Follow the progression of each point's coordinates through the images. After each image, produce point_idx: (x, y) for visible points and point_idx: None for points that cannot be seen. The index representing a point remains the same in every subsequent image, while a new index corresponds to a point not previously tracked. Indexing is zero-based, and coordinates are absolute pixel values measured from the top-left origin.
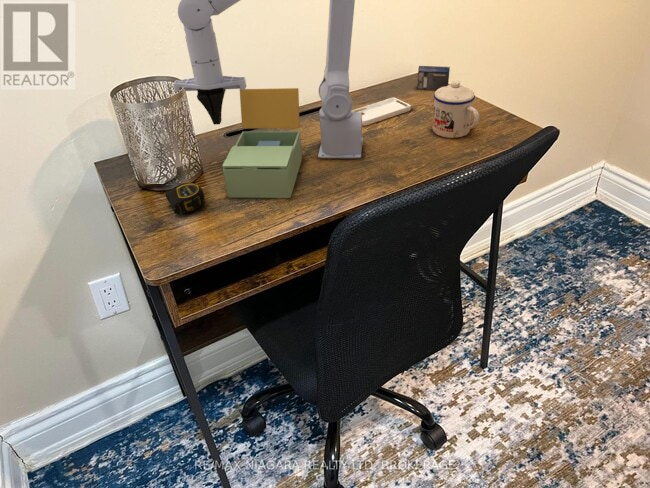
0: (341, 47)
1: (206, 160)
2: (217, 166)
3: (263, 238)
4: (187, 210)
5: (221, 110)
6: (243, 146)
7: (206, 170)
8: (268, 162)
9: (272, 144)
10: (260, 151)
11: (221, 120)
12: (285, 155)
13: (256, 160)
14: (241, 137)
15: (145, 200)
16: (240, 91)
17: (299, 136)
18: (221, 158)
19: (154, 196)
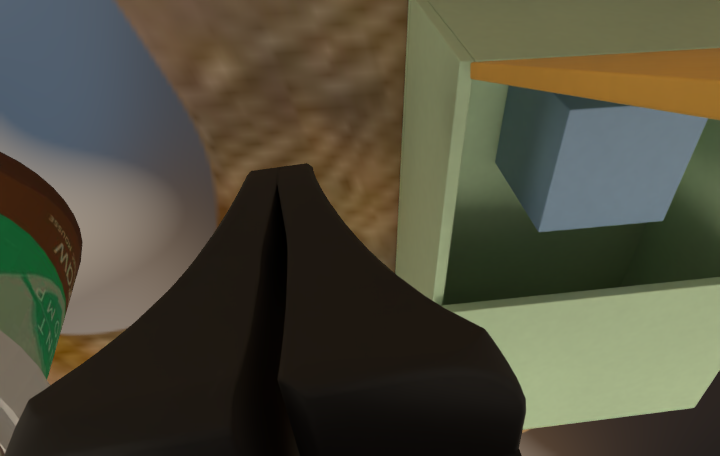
0: None
1: (146, 45)
2: (255, 111)
3: (524, 429)
4: None
5: (331, 205)
6: (506, 312)
7: (210, 155)
8: (625, 399)
9: (653, 151)
10: (598, 338)
11: (312, 168)
12: (713, 352)
13: (574, 396)
14: (461, 151)
15: (72, 370)
16: (714, 116)
17: None
18: (238, 12)
19: (89, 348)
